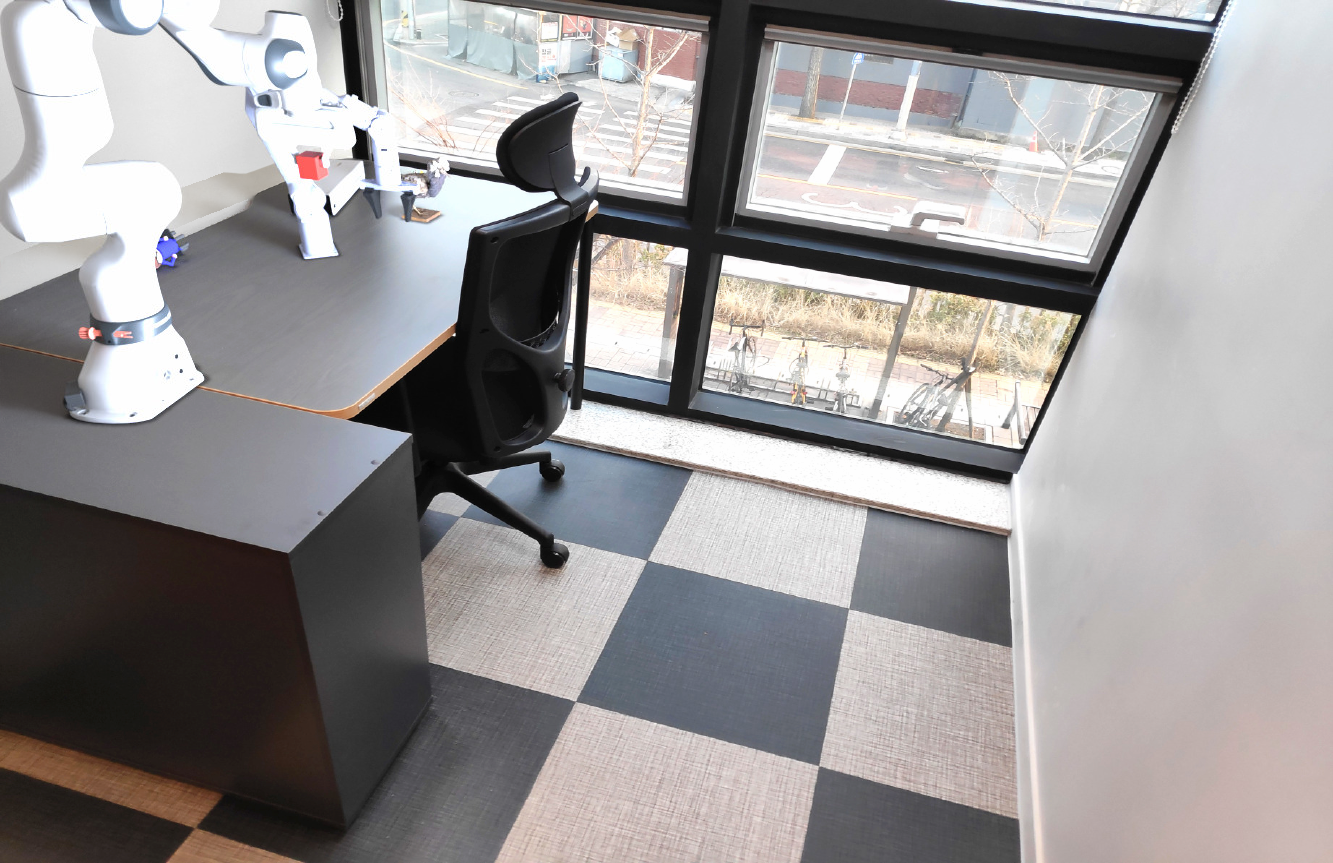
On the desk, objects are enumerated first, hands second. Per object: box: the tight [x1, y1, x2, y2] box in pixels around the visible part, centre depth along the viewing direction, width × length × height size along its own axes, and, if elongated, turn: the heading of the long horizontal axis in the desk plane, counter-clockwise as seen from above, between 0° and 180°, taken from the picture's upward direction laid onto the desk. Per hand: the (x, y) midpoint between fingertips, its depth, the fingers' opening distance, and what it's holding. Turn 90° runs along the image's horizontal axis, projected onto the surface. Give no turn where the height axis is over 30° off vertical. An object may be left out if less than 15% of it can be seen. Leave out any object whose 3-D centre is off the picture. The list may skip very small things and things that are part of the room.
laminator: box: [287, 158, 366, 217], centre depth 238 cm, size 34×12×6 cm, turn 2°
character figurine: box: [155, 227, 190, 269], centre depth 191 cm, size 8×7×15 cm
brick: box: [296, 150, 328, 181], centre depth 176 cm, size 4×4×5 cm
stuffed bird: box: [400, 156, 454, 223], centre depth 226 cm, size 10×20×17 cm, turn 93°
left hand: (311, 165), depth 176 cm, fingers closed on brick, 4 cm apart
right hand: (393, 219), depth 205 cm, fingers open, 7 cm apart
